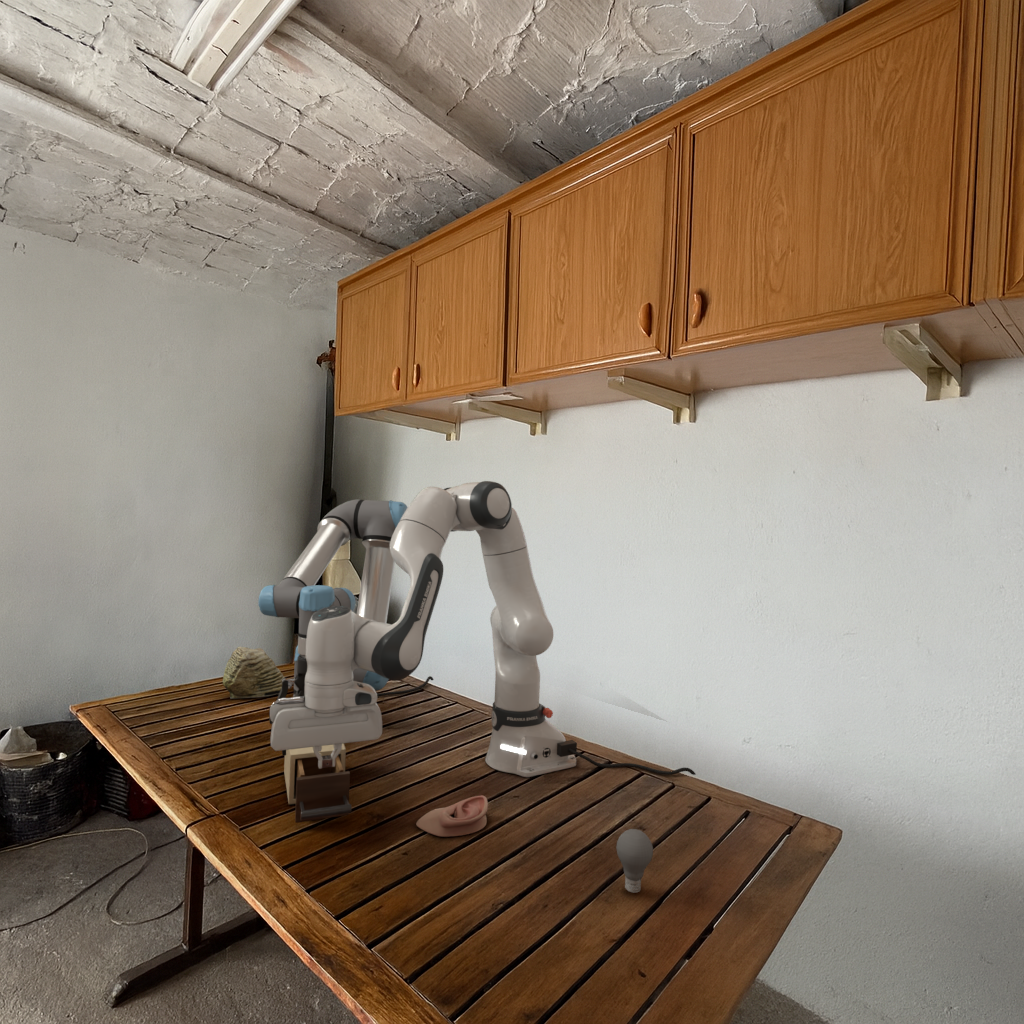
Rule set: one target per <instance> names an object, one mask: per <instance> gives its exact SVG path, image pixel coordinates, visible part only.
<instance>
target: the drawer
mask: <svg viewBox="0 0 1024 1024" xmlns="http://www.w3.org/2000/svg"><path fill="white" fill-rule="evenodd" d="M326 756H327V755H326ZM350 782H351V773H350V771H349V770H345V772H344V770H343V767H342V764H341V761H340V759H339V756H337V757H336V758H335V767H329V768H322V769H319V767H318V758H317V757H308V758H300V759H295V785H294V786H295V792H296V804H295V811H294V812H295V813H294V821H295V823H296V824H297V823H303V822H304V823H305V822H310V821H319V820H324V819H330V818H336V817H344V816H348V815H349V814H350V813H352V803H350V787H351V786H350V785H351V783H350Z"/></svg>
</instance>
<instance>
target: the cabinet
mask: <svg viewBox="0 0 1024 1024" xmlns="http://www.w3.org/2000/svg"><path fill="white" fill-rule="evenodd" d="M333 750H334V747H333V745H325V746H322V750H321V751H319V752H320V753H321V755H322V756H326V755H331V753H332V752H333ZM346 752H347V749H346V746H345V743H342V749H341V751H340V752H339V754H338V756H339V759H340V761H341V764H342V767H343V770H344V772H346V756H347V755H346V754H347V753H346ZM308 757H317V756H316V755H315V753H314V751H313V747H307V748H298V749H290V750H286V755H284V763H283V768H284V769H283V774H284V780H285V781H284V782H285V788H286V796H287V802H288V803H287V804H288V805H296V792H295V786H294V785H295V759H300V758H308Z"/></svg>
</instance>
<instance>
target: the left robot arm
mask: <svg viewBox="0 0 1024 1024" xmlns="http://www.w3.org/2000/svg"><path fill="white" fill-rule="evenodd" d="M407 508H408V505H407V504H406V503H404V502H402V501H396V500H395V501H394V500H392V499H391V500H380V499H379V500H377V499H359V498H357V499H351V500H347V501H344V502H343V503H341V504H339V505H336V507H334V508H333V509H331V510H329V512H327V514H326V515H324V517H322V518H321V520H320V522H318V524H317V527H316V528H317V529H316V530H317V531H316V533H315V534H314V536H313V537H312V539H311V540H310V541H309V542H308V544H307V545H306V547H305V548H304V550H303V551H302V552H301V554H300V555H299V556H298V558H297V559H296V560H295V562H294V563H293V565H292V566H291V567H290V568H289V570H288V571H287V573H286V574H285V575H284V577H283V578H282V580H281V581H280V582H279V583H278V585H276V584H272V585H271V584H270V585H266V586H263V588H262V589H261V591H260V592H259V596H258V603H257V604H258V607H259V611H260V612H261V614H262V615H264V616H268V617H275V618H286V619H287V618H288V619H290V618H291V619H298V634H297V645H296V647H295V652H294V653H295V654H294V659H293V661H294V672H293V678H287V677H285V678H283V679H282V688H281V690H280V693H279V694H277V698H276V701H278V700H279V699H280V698H287V694H288V691H289V690H290V689H292V687H293V695H292V697H298V696H304V692H305V675H306V673H307V661H306V638H307V630H308V625H309V622H310V619H311V617H312V615H313V614H314V613H315V612H317V611H318V610H320V609H323V608H326V607H334V606H344V607H348V608H350V609H351V610H352V612H354V610H355V608H356V614H357V615H359V616H362V617H364V618H367V619H371V620H375V621H379V622H382V623H387V621H388V615H389V607H390V599H391V593H392V587H393V586H392V585H393V579H394V571H395V565H396V563H395V561H394V560H393V558H392V555H391V552H390V541H391V538H392V535H393V533H394V531H395V529H396V527H397V525H398V523H399V521H400V519H401V518H402V516H403V514H404V512H405V511H406V509H407ZM353 539H359V540H362V541H361V544H362V545H363V547H364V548H365V556H364V562H363V568H362V569H363V570H362V574H361V575H362V576H361V583H360V589H359V596H358V601H357V602H356V596H355V595H354V593H353V592H352V591H351V590H350V589H349V588H346V587H334V588H333V587H332V586H330V585H323V584H321V585H320V584H318V585H316V584H317V583H318V582H319V580H320V578H321V576H322V575H323V574H324V572H325V570H326V569H327V567H328V566H329V564H330V563H331V562H332V560H333V559H334V557H335V556H336V554H337V553H338V551H339V549H340V548H341V547H342V546H345V545H347V543H349V540H353ZM356 603H357V604H356ZM356 605H357V607H356ZM389 680H390V679H387V678H385V677H383V676H381V675H379V674H377V673H374V672H370V671H367V670H363V669H361V668H357V669H355V670H354V671H353V681H357V682H361V683H365V684H369V685H371V686H372V687H373V688H374V689H375V691H376V692H377V691H381V690H382V689H383V688H384V687H385V686H386V685H387V684H388V682H389ZM429 681H434V678H433V676H431V675H429V676H428V677H427V678H426V679H425V681H424V683H422V684H420V685H418V686H416V687H413V688H411V689H405V690H396V691H395V690H394V691H387V692H379V693H377V698H378V697H384V696H392V695H404V694H409V693H412V692H416V691H418V690H421V689H422V688H424V687H425V686H426V685H428V683H429ZM276 704H279V703H276ZM268 719H269V724H270V725H272V723H273V722H272V721H271V720H270V717H269V718H268ZM281 755H282V757H283V756H284V757H285V755H286V750H281Z"/></svg>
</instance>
